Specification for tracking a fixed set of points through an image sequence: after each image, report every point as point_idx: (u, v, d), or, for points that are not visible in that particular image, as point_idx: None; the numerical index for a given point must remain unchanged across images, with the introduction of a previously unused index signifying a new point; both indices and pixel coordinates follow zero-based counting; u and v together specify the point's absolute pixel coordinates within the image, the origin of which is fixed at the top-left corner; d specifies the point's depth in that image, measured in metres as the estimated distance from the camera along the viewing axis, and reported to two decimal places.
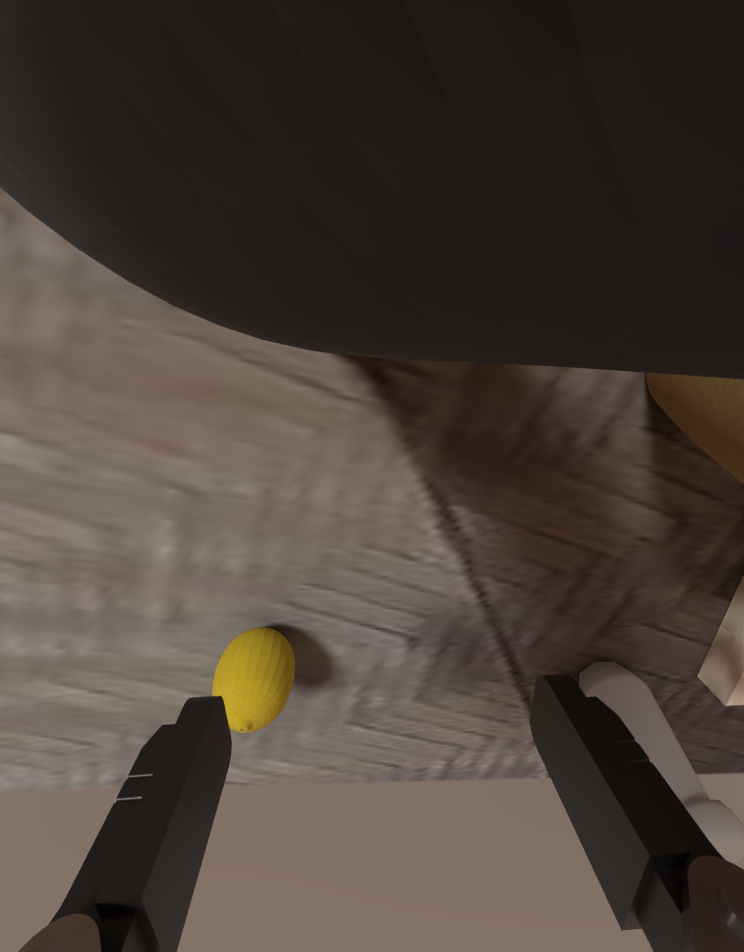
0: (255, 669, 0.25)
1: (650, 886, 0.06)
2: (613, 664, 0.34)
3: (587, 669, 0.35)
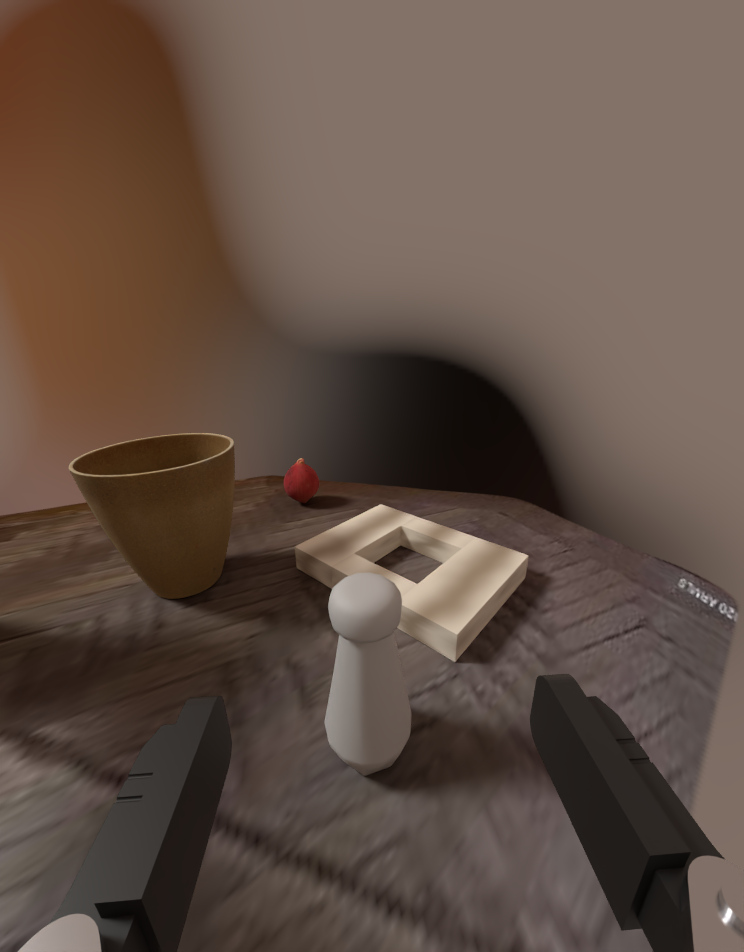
0: None
1: (650, 886, 0.06)
2: None
3: None
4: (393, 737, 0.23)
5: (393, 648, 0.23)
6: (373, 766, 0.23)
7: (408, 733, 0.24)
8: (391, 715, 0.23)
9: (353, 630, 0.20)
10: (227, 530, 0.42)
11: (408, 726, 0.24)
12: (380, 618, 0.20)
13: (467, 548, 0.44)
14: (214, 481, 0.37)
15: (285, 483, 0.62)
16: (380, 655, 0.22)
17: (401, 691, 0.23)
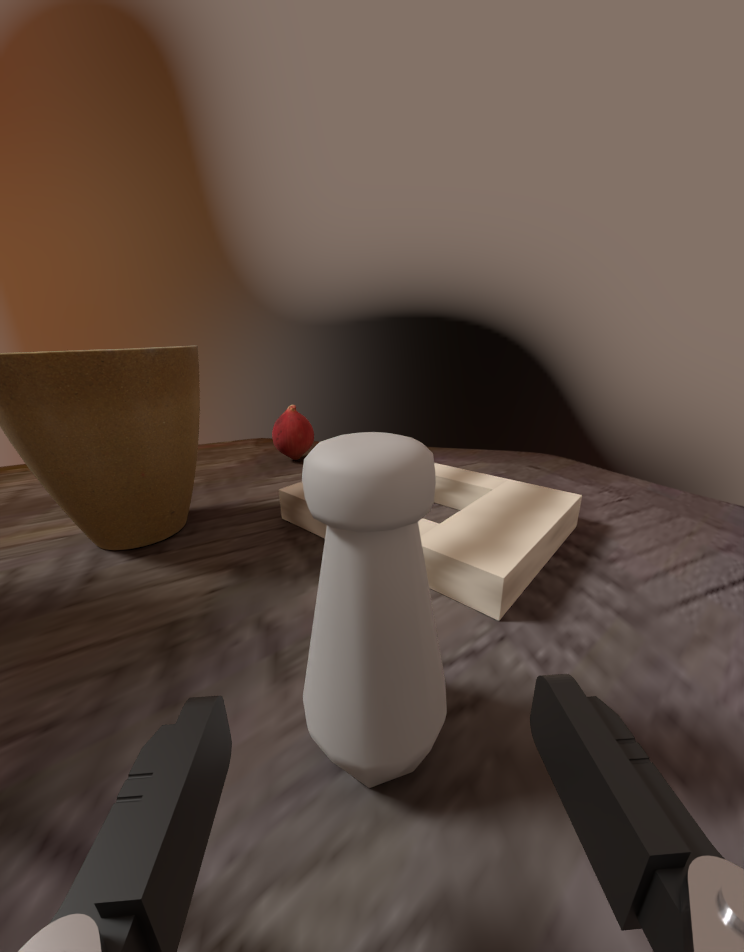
0: None
1: (650, 886, 0.06)
2: None
3: None
4: (420, 719, 0.13)
5: (419, 560, 0.13)
6: (385, 771, 0.13)
7: (443, 715, 0.14)
8: (416, 680, 0.13)
9: (346, 503, 0.10)
10: (189, 462, 0.32)
11: (443, 703, 0.14)
12: (400, 478, 0.10)
13: (500, 489, 0.34)
14: (164, 383, 0.27)
15: (273, 434, 0.52)
16: (397, 565, 0.12)
17: (432, 640, 0.13)
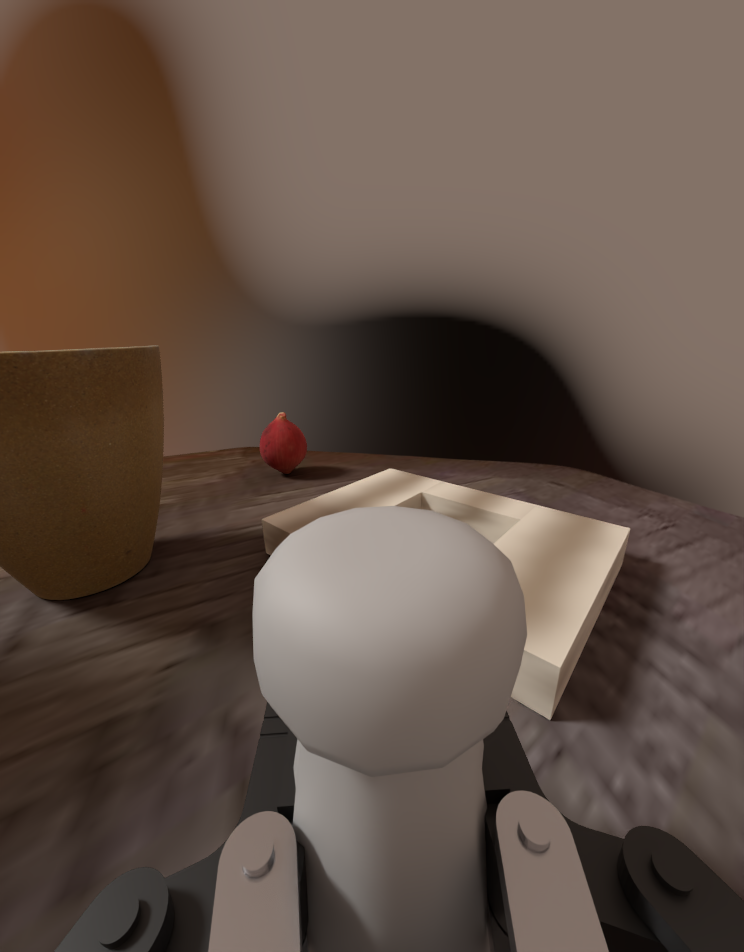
0: None
1: None
2: None
3: None
4: None
5: (478, 751, 0.07)
6: None
7: None
8: None
9: (340, 725, 0.04)
10: (149, 489, 0.26)
11: None
12: (468, 667, 0.04)
13: (529, 519, 0.28)
14: (109, 394, 0.21)
15: (261, 445, 0.46)
16: (446, 797, 0.06)
17: None
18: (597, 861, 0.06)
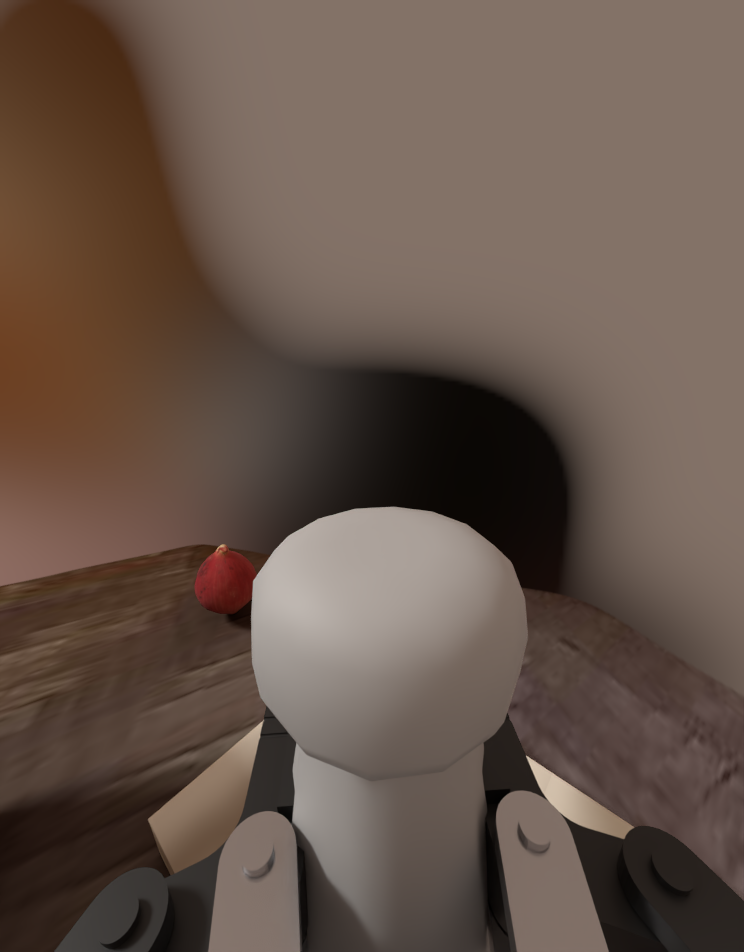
0: None
1: None
2: None
3: None
4: None
5: (479, 754, 0.07)
6: None
7: None
8: None
9: (339, 729, 0.04)
10: None
11: None
12: (468, 670, 0.04)
13: None
14: None
15: (196, 588, 0.36)
16: (446, 800, 0.06)
17: None
18: (597, 861, 0.06)
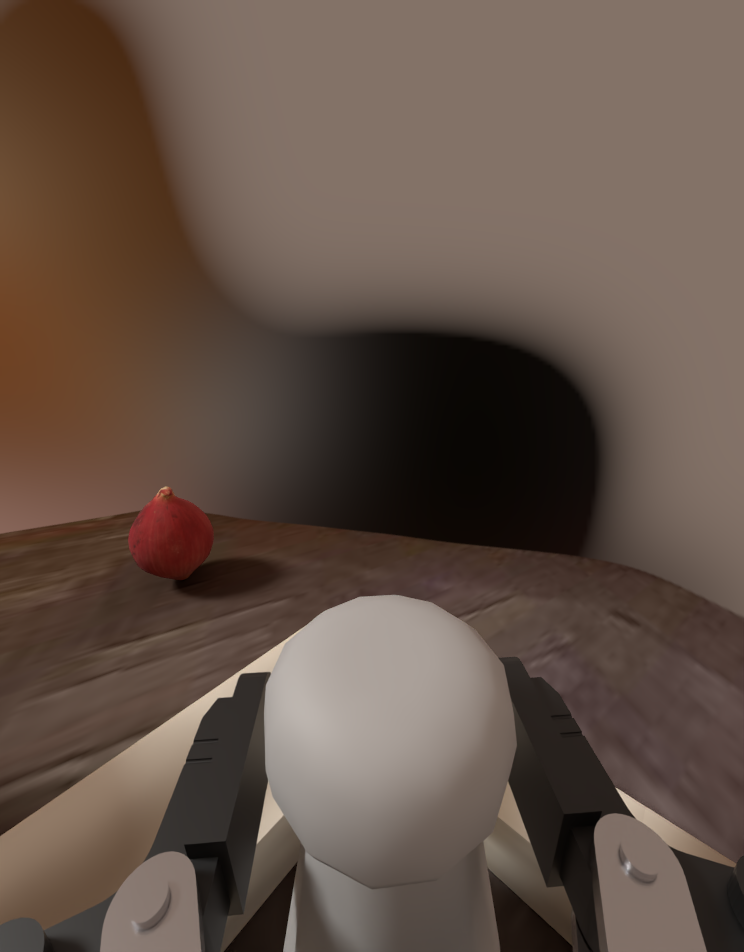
0: None
1: (567, 843, 0.07)
2: None
3: None
4: None
5: None
6: None
7: None
8: None
9: (343, 850, 0.05)
10: None
11: None
12: (459, 802, 0.05)
13: None
14: None
15: (129, 543, 0.28)
16: (441, 888, 0.06)
17: (491, 942, 0.08)
18: (705, 890, 0.06)
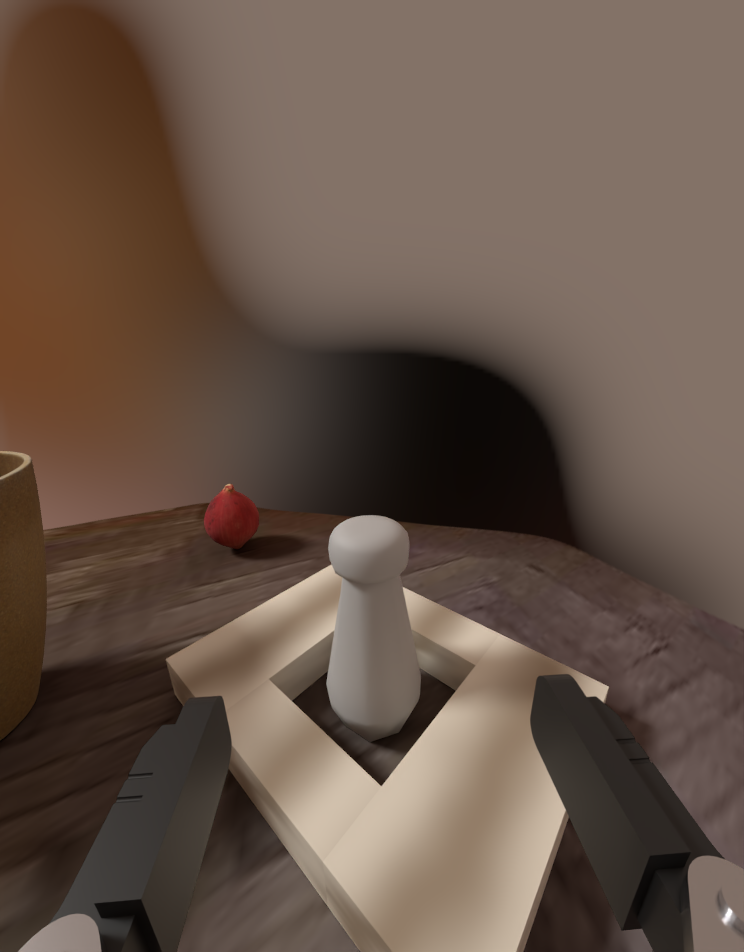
0: None
1: (650, 886, 0.06)
2: None
3: None
4: (401, 696, 0.21)
5: (400, 596, 0.21)
6: (379, 728, 0.21)
7: (417, 695, 0.22)
8: (398, 671, 0.20)
9: (355, 568, 0.18)
10: (12, 643, 0.21)
11: (417, 687, 0.22)
12: (385, 554, 0.18)
13: (486, 665, 0.23)
14: None
15: (205, 522, 0.41)
16: (385, 601, 0.20)
17: (409, 646, 0.21)
18: None
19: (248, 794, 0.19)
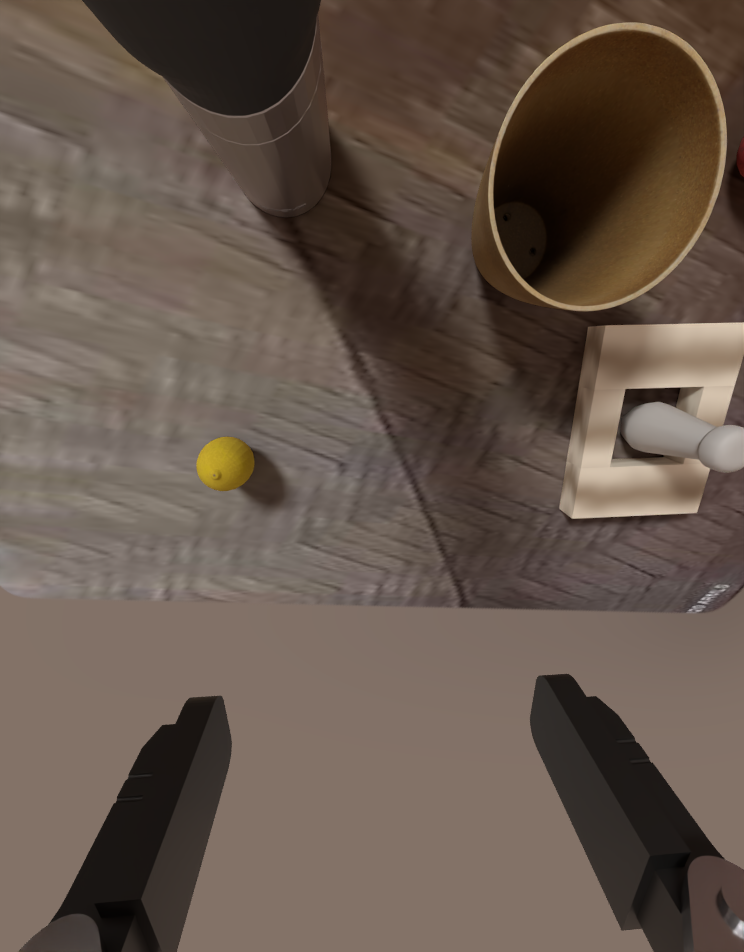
0: (225, 444, 0.38)
1: (650, 886, 0.06)
2: None
3: (627, 413, 0.45)
4: (648, 452, 0.43)
5: None
6: (629, 444, 0.44)
7: None
8: (660, 453, 0.42)
9: (704, 458, 0.35)
10: None
11: None
12: (719, 470, 0.35)
13: (685, 468, 0.45)
14: None
15: None
16: (695, 457, 0.37)
17: None
18: None
19: (575, 411, 0.44)
